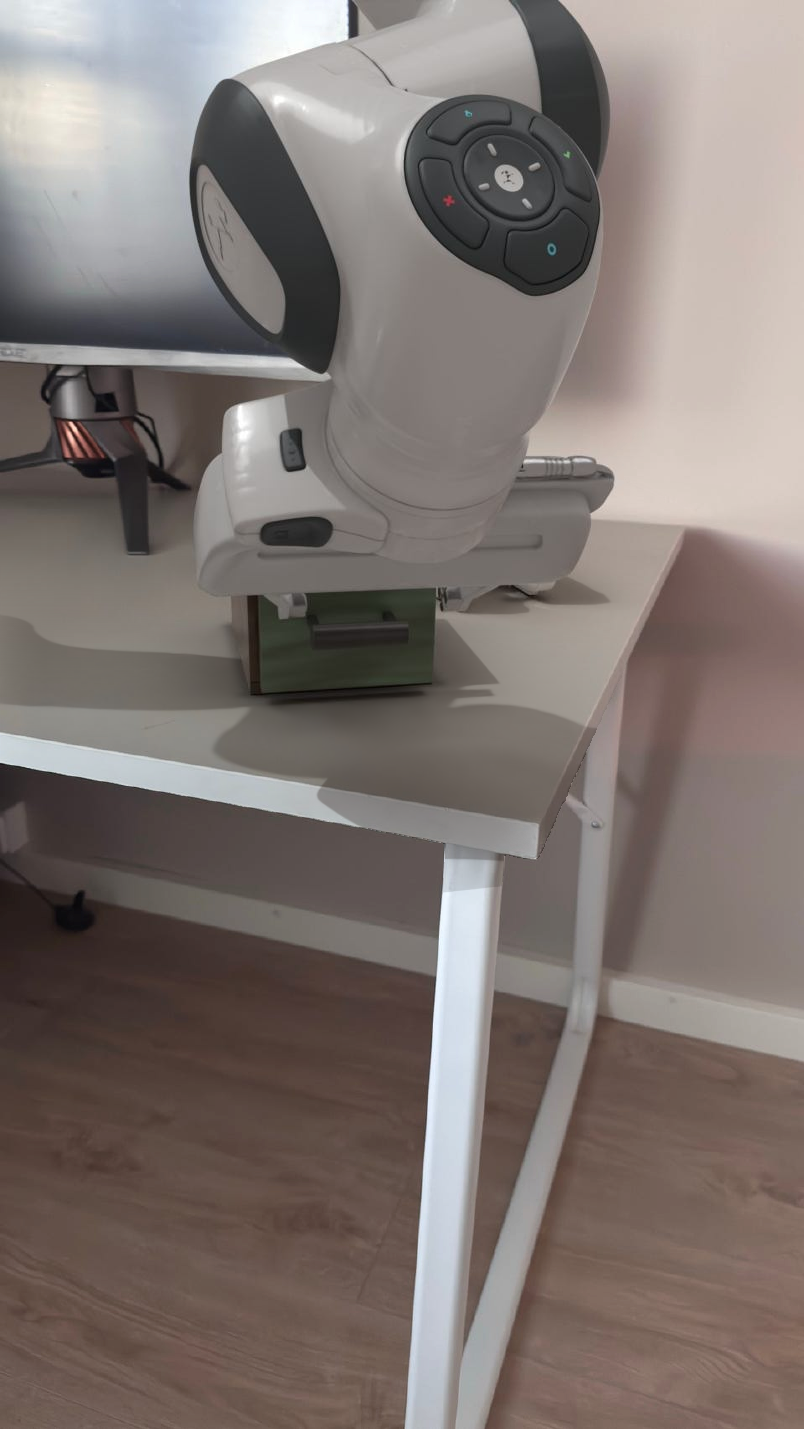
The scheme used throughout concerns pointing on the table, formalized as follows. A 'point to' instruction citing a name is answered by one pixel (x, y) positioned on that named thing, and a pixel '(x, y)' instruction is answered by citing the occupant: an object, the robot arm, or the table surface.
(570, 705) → the table surface
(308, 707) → the table surface
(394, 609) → the drawer
